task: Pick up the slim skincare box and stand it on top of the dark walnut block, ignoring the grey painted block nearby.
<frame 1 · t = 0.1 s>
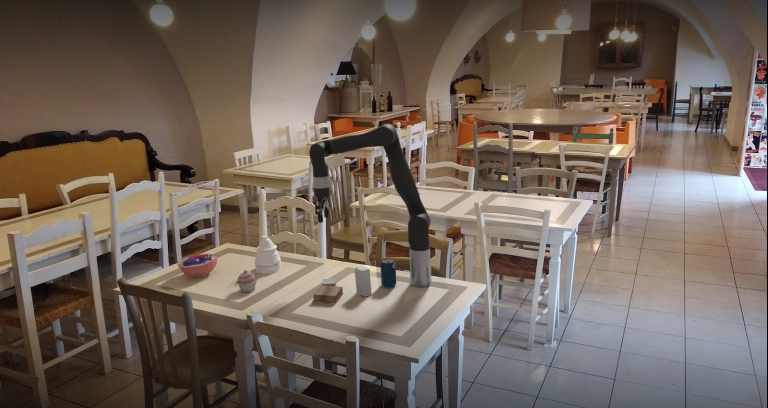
hand: (323, 219, 259), 29 cm above the table, fingers open, 8 cm apart
cupcake: (247, 290, 256), on the table
honey pot: (268, 269, 282), on the table
soda can: (388, 285, 255), on the table
cell model: (199, 275, 276), on the table
grey block: (329, 289, 254), on the table
skincare box: (363, 294, 247), on the table
walnut block: (328, 299, 244), on the table
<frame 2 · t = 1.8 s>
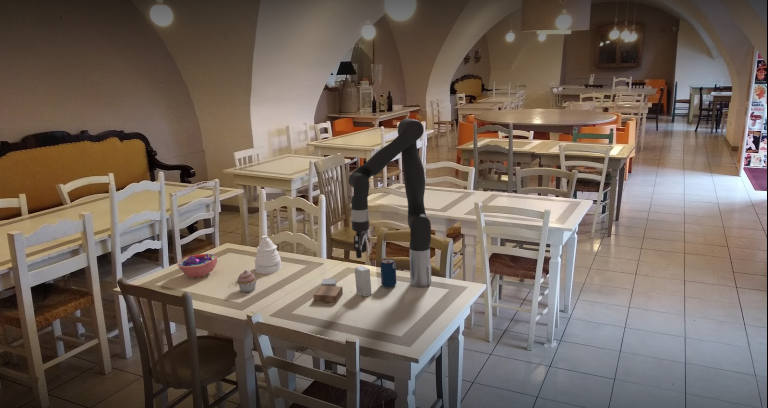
hand: (361, 254, 243), 18 cm above the table, fingers open, 8 cm apart
nothing on the table moved.
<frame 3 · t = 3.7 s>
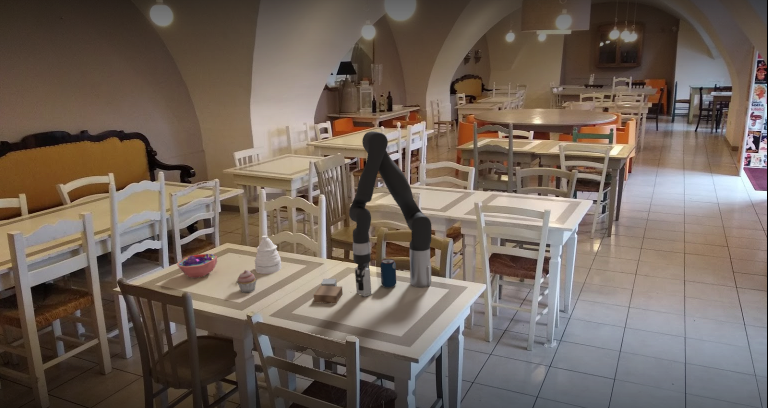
hand: (363, 286, 246), 3 cm above the table, fingers closed on skincare box, 7 cm apart
skincare box: (363, 294, 247), on the table, touching gripper
everything else where it was.
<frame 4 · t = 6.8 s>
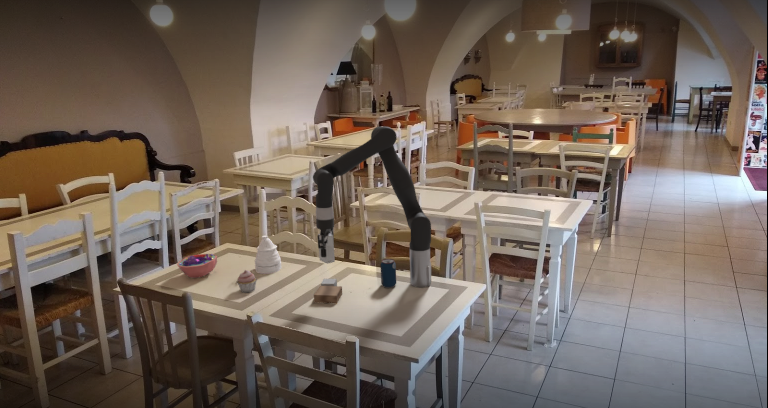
hand: (326, 254, 239), 20 cm above the table, fingers closed on skincare box, 7 cm apart
skincare box: (326, 261, 240), point 17 cm above the table, touching gripper
everything else where it was.
when the fingers open (8 cm above the table, at t = 9.5 s): skincare box stays where it is, point 3 cm above the table.
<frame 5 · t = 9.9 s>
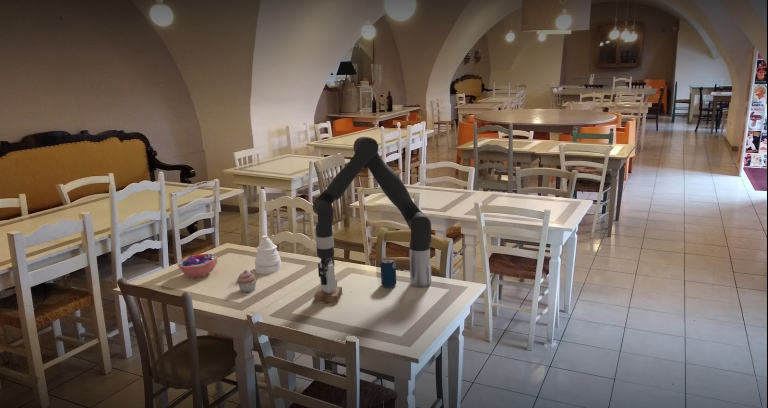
hand: (327, 280, 242), 8 cm above the table, fingers open, 8 cm apart
skincare box: (328, 291, 243), point 3 cm above the table
everything else where it was.
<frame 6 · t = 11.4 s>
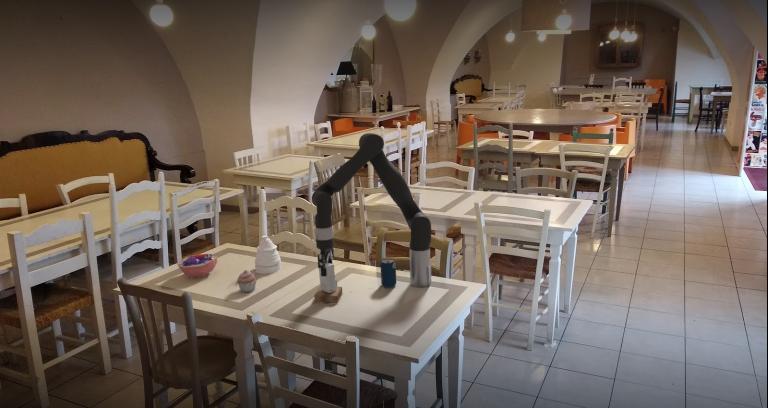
hand: (327, 272, 241), 12 cm above the table, fingers open, 8 cm apart
nothing on the table moved.
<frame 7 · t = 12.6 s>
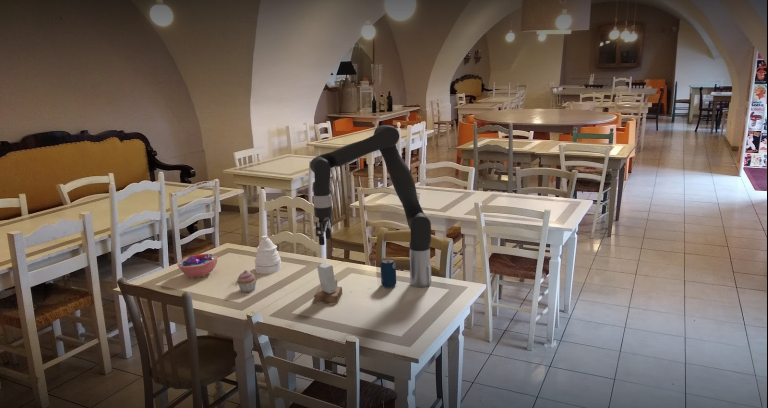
hand: (325, 241, 237), 26 cm above the table, fingers open, 8 cm apart
skincare box: (328, 291, 243), point 3 cm above the table, touching walnut block
walnut block: (328, 299, 244), on the table, touching skincare box
everything else where it was.
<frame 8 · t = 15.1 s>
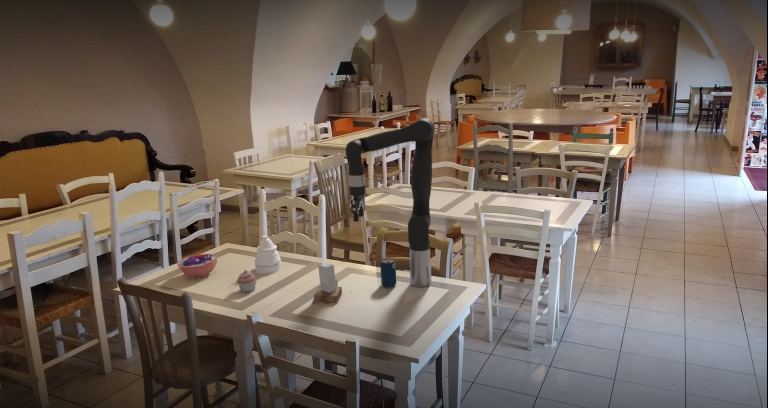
hand: (358, 218, 255), 30 cm above the table, fingers open, 8 cm apart
skincare box: (328, 290, 243), point 3 cm above the table
walnut block: (328, 299, 244), on the table
everything else where it was.
at the end: skincare box inside the target area on the walnut block (0.4 cm from its centre), point 3.9 cm above the walnut block's base; skincare box tilted 2°; the gripper is holding nothing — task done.
